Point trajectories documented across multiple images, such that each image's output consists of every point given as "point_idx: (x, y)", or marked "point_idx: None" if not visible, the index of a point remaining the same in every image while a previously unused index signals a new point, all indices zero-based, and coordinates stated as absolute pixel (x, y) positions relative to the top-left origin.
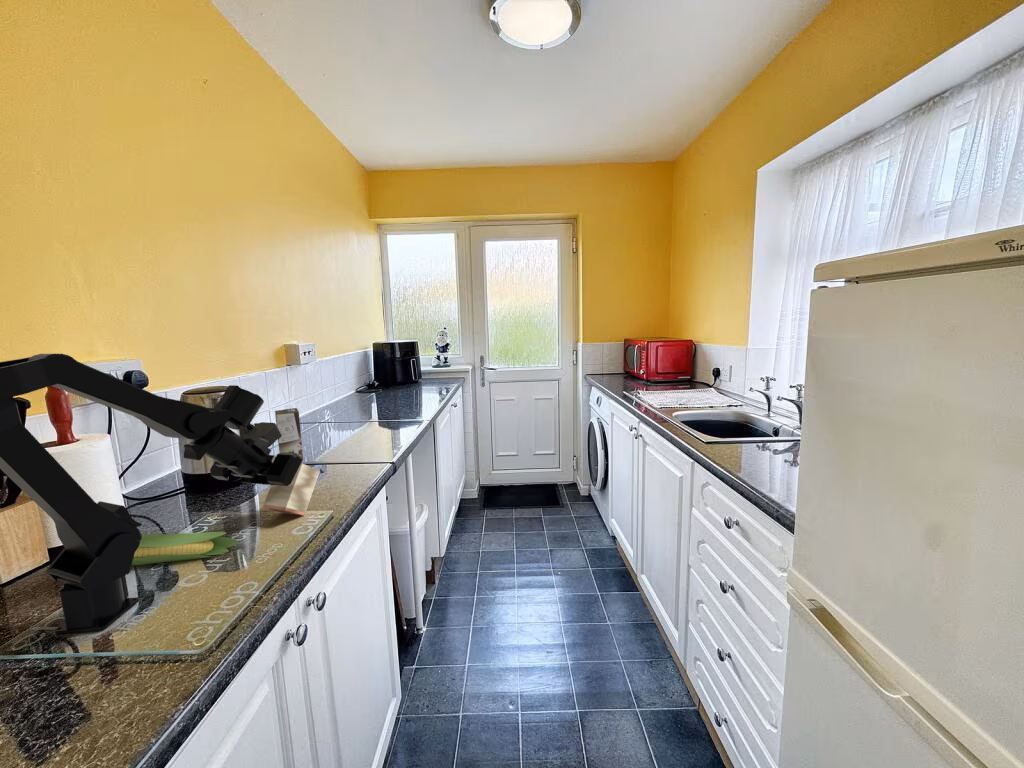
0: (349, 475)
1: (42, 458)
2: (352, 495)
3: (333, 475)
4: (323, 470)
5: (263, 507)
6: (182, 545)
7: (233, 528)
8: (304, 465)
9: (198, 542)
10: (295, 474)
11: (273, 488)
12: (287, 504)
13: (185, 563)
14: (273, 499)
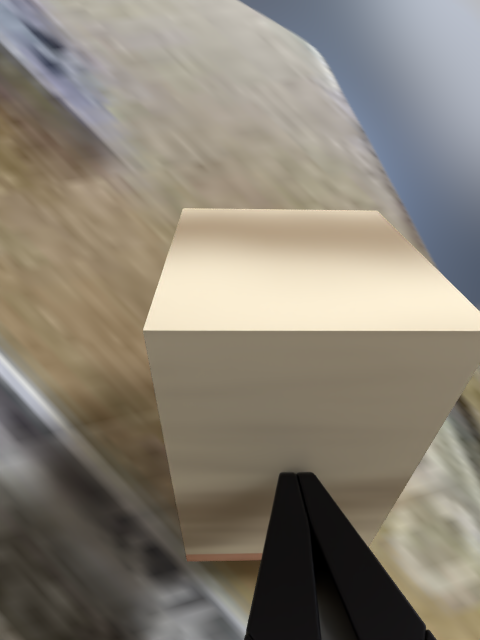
0: (195, 56)
1: None
2: (359, 203)
3: (128, 64)
4: (47, 32)
5: (194, 560)
6: None
7: (86, 636)
8: (468, 313)
9: None
10: (412, 423)
11: (210, 502)
12: (370, 541)
13: None
14: (248, 536)
